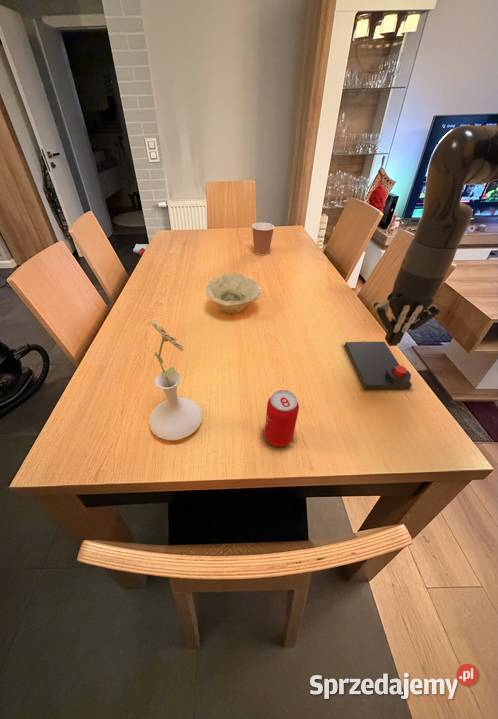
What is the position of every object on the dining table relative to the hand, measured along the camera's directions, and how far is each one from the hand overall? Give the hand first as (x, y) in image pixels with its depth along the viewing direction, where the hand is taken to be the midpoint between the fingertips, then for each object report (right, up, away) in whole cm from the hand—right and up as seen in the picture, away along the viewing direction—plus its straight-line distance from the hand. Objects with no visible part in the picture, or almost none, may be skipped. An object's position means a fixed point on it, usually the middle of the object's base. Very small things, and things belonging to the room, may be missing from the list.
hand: (391, 343), depth 65 cm
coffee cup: (-25, +48, +79) cm, 96 cm away
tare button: (+8, -7, +12) cm, 16 cm away
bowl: (-37, +14, +40) cm, 56 cm away
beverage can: (-24, -20, +1) cm, 32 cm away
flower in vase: (-47, -17, +3) cm, 50 cm away
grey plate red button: (+4, -5, +19) cm, 20 cm away
